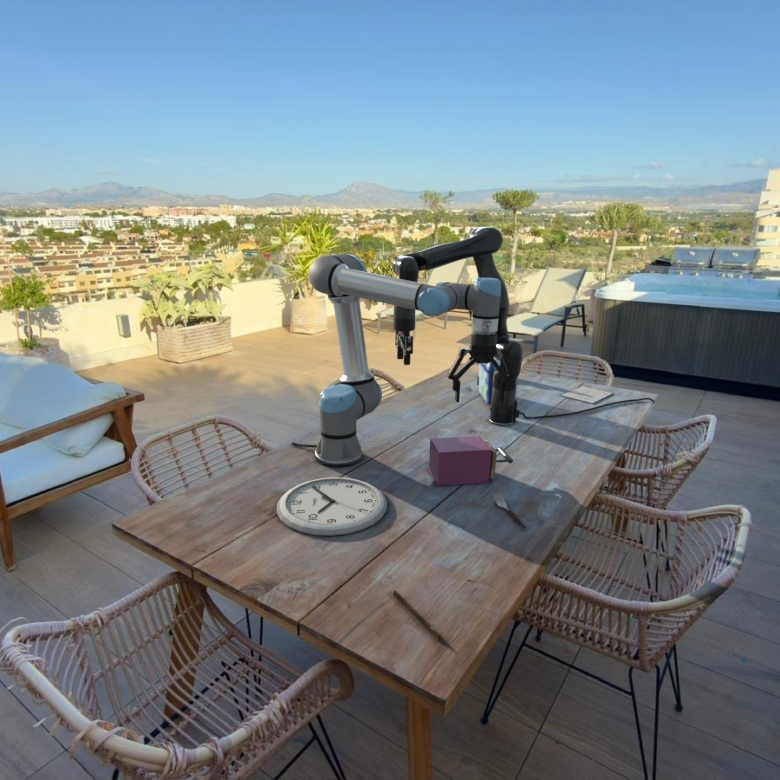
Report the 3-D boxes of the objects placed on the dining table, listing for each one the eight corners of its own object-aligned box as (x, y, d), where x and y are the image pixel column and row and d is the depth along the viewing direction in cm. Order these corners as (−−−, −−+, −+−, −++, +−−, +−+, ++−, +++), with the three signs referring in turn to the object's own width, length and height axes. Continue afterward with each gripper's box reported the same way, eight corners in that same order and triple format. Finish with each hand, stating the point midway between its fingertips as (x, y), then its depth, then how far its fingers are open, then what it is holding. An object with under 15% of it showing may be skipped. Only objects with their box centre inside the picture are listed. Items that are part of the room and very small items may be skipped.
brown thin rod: (392, 594, 108) (393, 590, 108) (394, 593, 109) (394, 589, 108) (438, 640, 96) (438, 636, 96) (440, 639, 97) (440, 635, 96)
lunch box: (475, 390, 246) (478, 346, 240) (498, 390, 246) (501, 347, 240) (484, 408, 221) (487, 360, 215) (509, 409, 221) (513, 360, 215)
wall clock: (392, 527, 129) (268, 531, 127) (391, 533, 130) (269, 537, 127) (383, 473, 158) (282, 475, 155) (383, 478, 158) (282, 480, 156)
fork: (520, 530, 132) (521, 523, 132) (492, 499, 147) (492, 493, 146) (529, 529, 133) (530, 522, 132) (500, 498, 147) (501, 492, 147)
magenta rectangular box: (477, 467, 167) (479, 435, 164) (488, 482, 157) (491, 449, 154) (428, 470, 164) (430, 438, 161) (437, 486, 154) (438, 452, 151)
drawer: (500, 464, 167) (503, 438, 165) (512, 477, 159) (514, 450, 156) (439, 467, 164) (440, 441, 161) (447, 481, 155) (448, 454, 153)
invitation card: (582, 386, 254) (612, 393, 244) (582, 386, 255) (612, 393, 244) (561, 395, 240) (592, 402, 230) (561, 395, 240) (592, 403, 230)
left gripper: (444, 334, 148) (440, 405, 154) (530, 334, 150) (522, 404, 156) (439, 329, 155) (436, 397, 162) (521, 329, 157) (515, 396, 164)
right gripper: (421, 319, 174) (419, 366, 179) (408, 312, 187) (407, 356, 192) (399, 319, 172) (398, 367, 177) (388, 313, 185) (388, 357, 190)
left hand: (479, 400), depth 159 cm, fingers open, 13 cm apart
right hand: (403, 361), depth 184 cm, fingers open, 8 cm apart
